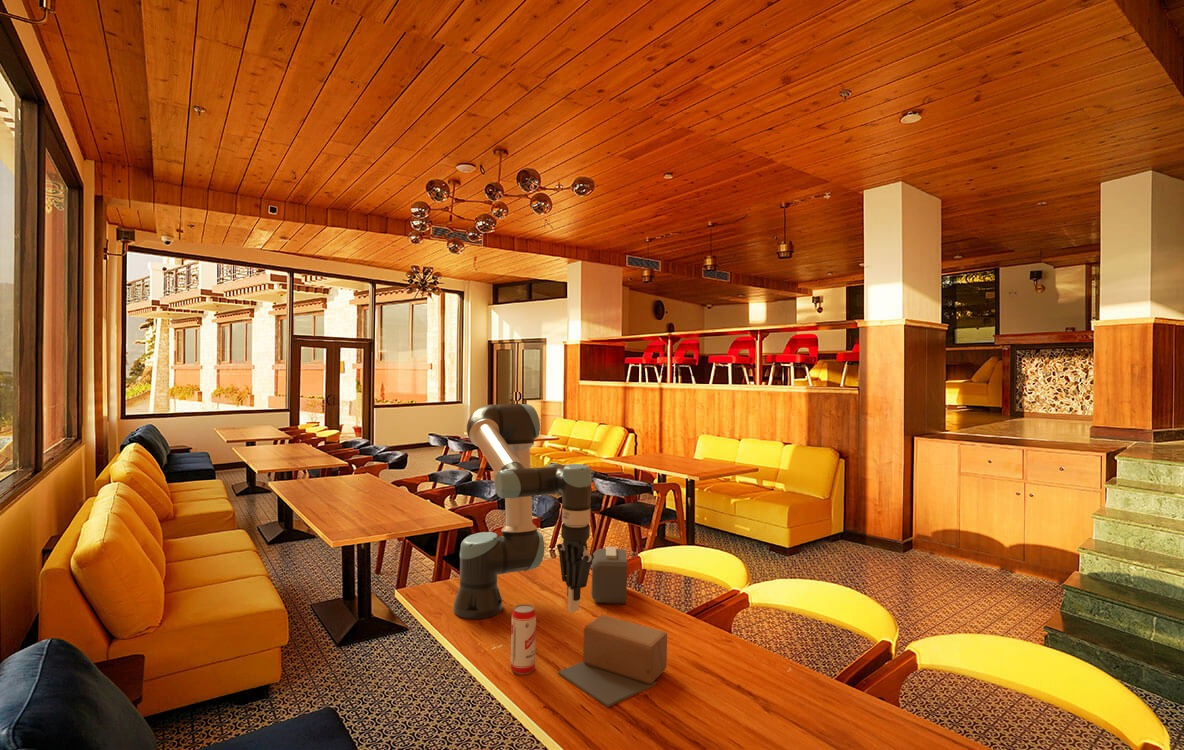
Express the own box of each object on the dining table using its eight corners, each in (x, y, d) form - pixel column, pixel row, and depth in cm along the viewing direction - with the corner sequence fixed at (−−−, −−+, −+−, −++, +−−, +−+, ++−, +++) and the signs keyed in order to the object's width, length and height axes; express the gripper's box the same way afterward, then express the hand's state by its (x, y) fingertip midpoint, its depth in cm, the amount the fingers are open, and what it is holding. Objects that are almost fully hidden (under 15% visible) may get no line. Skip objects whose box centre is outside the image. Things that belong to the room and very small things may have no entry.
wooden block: (581, 664, 160) (651, 686, 150) (582, 626, 160) (652, 646, 150) (600, 648, 169) (667, 669, 159) (601, 612, 169) (668, 630, 158)
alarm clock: (626, 606, 200) (627, 559, 199) (591, 605, 200) (592, 558, 199) (624, 587, 216) (625, 543, 215) (591, 586, 216) (592, 542, 215)
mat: (557, 673, 156) (558, 671, 156) (605, 655, 167) (605, 652, 167) (607, 707, 142) (607, 704, 142) (656, 684, 152) (656, 682, 152)
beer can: (539, 666, 160) (540, 605, 160) (528, 678, 154) (529, 614, 154) (517, 661, 162) (518, 601, 162) (506, 673, 156) (507, 611, 156)
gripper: (549, 520, 166) (547, 605, 167) (580, 532, 156) (577, 623, 157) (571, 515, 171) (569, 599, 172) (602, 527, 161) (599, 615, 162)
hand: (573, 610), depth 165 cm, fingers closed
